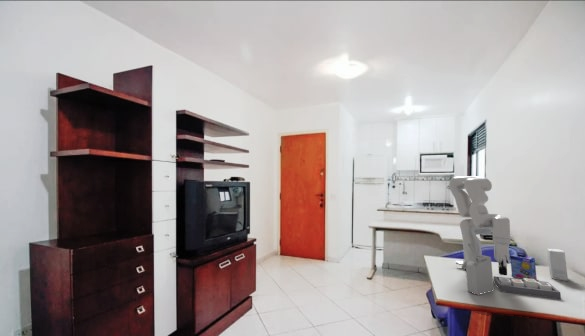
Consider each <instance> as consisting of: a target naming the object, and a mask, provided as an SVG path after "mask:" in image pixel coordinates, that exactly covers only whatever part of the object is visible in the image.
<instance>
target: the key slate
mask: <svg viewBox="0 0 585 336" xmlns="http://www.w3.org/2000/svg"><path fill="white" fill-rule="evenodd" d="M508 278H509V277H506V278H499V282H500V283H501V284H502V285H509V286H512V285H511V281H510V280H509V279H508Z"/></svg>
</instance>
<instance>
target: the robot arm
mask: <svg viewBox="0 0 585 336" xmlns="http://www.w3.org/2000/svg"><path fill="white" fill-rule="evenodd" d="M448 186H449V189H450V192H451V194H452V195H453V197H454V199H455V203H456V207H457V210H458V213H459V215H460V217H462V218H465V219H462V220H461V221H460V223H459V227H460V228H459V229H460V232H461V236H462V247H463V248H462V249H463V260H461V261H459V260H455V264H456V265H459V266H461V269H463V268H464V269H466V265H467V263H468V262H469V261H471V260H472V257H473V253H472V251H471V249H470V247H469V246H468V244H470V245H471V247H472V248H473V249H474V252H475V256H477V255H483V254H482V243H481V240H480V238H479V237H478V236H477V235H489V234H492V243H493V258H494V259H495V261H496V262H497V263H498V274H499V276H507V275H508V267H507V266H508V264H510V263H511V259H510V249H509V248H510V247H509V245H511V244H512V243H511V241H512V240H511V239H512V238H511V223H510V218H508V217H507V216H502V215H501V214H497V213H489V210H488V208H487V206H485V204H486V203H487V202H488V201H489V196H488V195H487V193H486V192H489V191H491V190H492V189H493V188H492V187H493V185H492V182H491V181H490V179H488V178H487V177H482V176H476V175H470V176H469V175H468V176H467V175H466V176H454V177H451V179H450V180H449V185H448ZM464 269H463V270H464Z"/></svg>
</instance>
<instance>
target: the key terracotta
mask: <svg viewBox="0 0 585 336" xmlns="http://www.w3.org/2000/svg"><path fill="white" fill-rule="evenodd" d="M517 279H518V278H515V279H511V282H512V283H513V284H514V285H515V286H518V287H525V286H524V282H523V281H522V280H517Z"/></svg>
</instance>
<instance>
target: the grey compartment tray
mask: <svg viewBox="0 0 585 336" xmlns="http://www.w3.org/2000/svg"><path fill="white" fill-rule="evenodd" d="M492 277H493V283H494V282H495V283H494V284H495V285H497V286H498V287H497V286H496V287H497V288H498V290H499V289H500V290H499V292H503V291H505V292H504V293H512V294H521V295H528V296H536V297H542V298H544V297H545V298H551V299H552V298H553V299H559V300H561V299H562V296H561V292H560V291H559V290H558V289H557V288H556V287H554V286H553V285H552V284H551V283H550V282H549V281H543V280H542V281H541V280H536V281H537V282H545V283H548V284H550V285H551V286H552V290H543V289H541V288H540V287H539V286H538V288H529V287H527V286H526V285H525V284H524V286H525V287H518V286H515V285H514V284H513V283H512V282H511V285H512V286H509V285H502V284H501V283H500V282H499V278H508V279H509V280H510V281H511V279H517V280H522V281H523V282H524V279H521V278H516V277H514V278H513V277H505V276H495V275H494V276H493V275H492Z"/></svg>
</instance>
